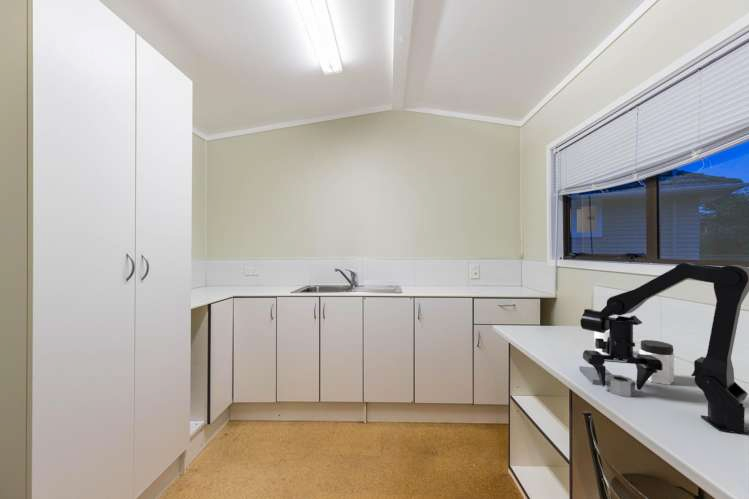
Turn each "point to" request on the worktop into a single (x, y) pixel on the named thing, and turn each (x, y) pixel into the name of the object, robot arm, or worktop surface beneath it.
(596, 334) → the white cup
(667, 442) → the worktop surface
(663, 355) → the jar
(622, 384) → the hub ring
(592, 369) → the block
